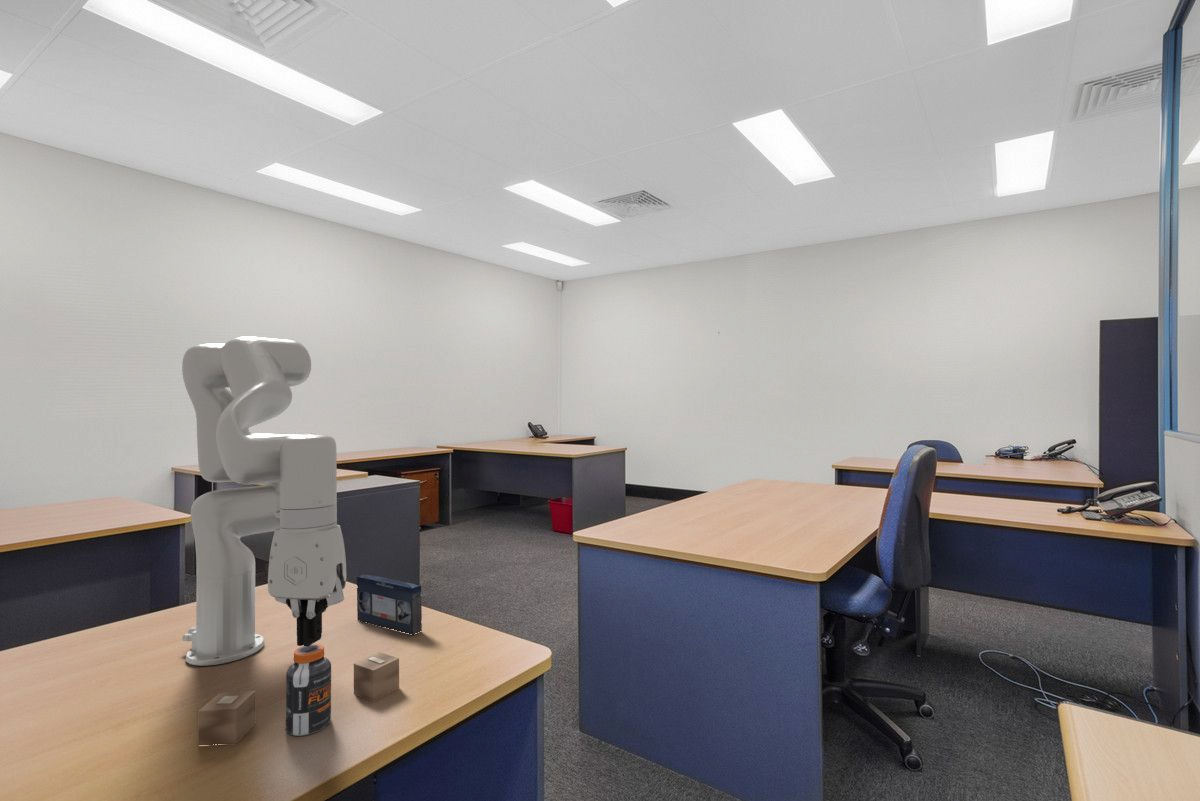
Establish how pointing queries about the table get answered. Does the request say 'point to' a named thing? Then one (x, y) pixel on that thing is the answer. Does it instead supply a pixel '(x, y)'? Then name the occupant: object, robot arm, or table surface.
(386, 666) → the marked cube two
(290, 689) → the pill bottle
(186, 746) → the table surface
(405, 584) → the vhs cassette tape
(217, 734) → the marked cube one
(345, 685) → the table surface
